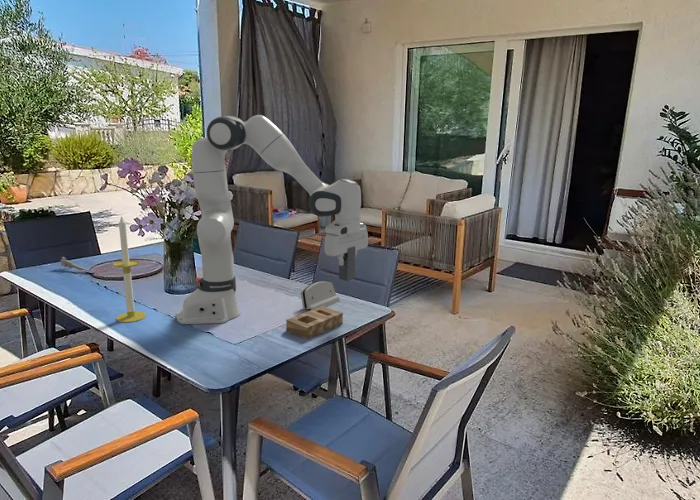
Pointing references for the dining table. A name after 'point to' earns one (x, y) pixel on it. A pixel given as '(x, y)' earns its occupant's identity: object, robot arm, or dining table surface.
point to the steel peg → (348, 265)
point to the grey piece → (318, 295)
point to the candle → (127, 278)
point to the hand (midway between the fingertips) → (346, 263)
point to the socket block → (314, 322)
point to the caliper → (71, 264)
